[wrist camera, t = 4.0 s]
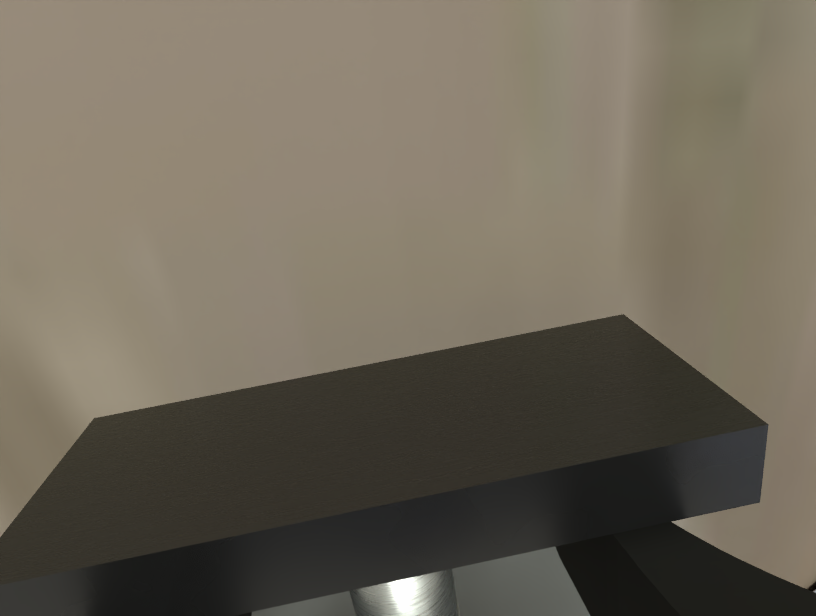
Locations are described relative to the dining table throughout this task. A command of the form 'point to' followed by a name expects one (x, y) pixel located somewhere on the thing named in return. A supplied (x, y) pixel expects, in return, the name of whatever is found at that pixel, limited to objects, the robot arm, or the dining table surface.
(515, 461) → the grey and silver t-piece
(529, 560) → the mat
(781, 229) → the dining table surface
